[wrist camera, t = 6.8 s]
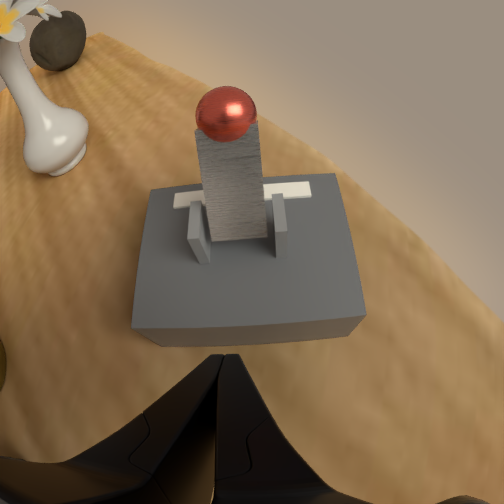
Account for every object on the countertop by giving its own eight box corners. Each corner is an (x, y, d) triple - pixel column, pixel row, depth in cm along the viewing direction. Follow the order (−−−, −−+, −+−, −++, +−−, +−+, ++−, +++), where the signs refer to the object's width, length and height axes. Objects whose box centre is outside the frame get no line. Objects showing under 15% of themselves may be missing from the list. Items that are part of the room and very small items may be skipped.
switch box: (347, 336, 20) (381, 296, 13) (161, 346, 20) (107, 313, 14) (327, 214, 25) (340, 143, 18) (171, 227, 25) (137, 163, 18)
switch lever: (267, 243, 16) (253, 82, 12) (210, 247, 16) (185, 90, 12) (266, 219, 18) (253, 84, 14) (216, 223, 19) (198, 90, 15)
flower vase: (29, 237, 27) (-106, 69, 5) (34, 148, 35) (-39, 22, 13) (126, 180, 29) (23, -44, 7) (106, 105, 37) (49, -37, 15)
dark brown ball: (102, 53, 51) (82, 0, 38) (48, 87, 47) (22, 35, 34) (87, 47, 56) (70, 2, 43) (41, 76, 53) (19, 32, 40)
